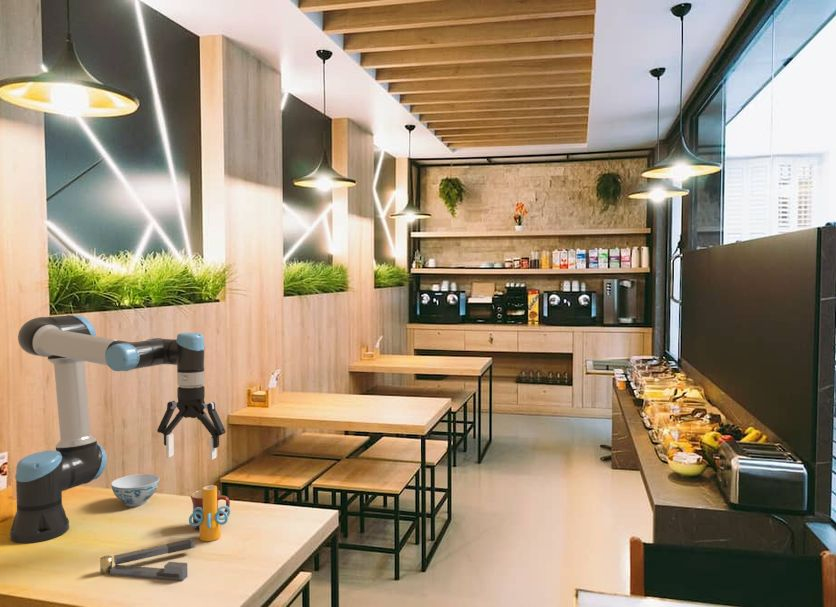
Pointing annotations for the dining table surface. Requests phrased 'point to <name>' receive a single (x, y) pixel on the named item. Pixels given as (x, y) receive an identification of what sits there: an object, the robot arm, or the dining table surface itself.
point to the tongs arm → (154, 551)
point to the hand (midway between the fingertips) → (191, 457)
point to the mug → (198, 502)
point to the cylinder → (209, 515)
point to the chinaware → (135, 488)
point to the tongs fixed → (144, 570)
